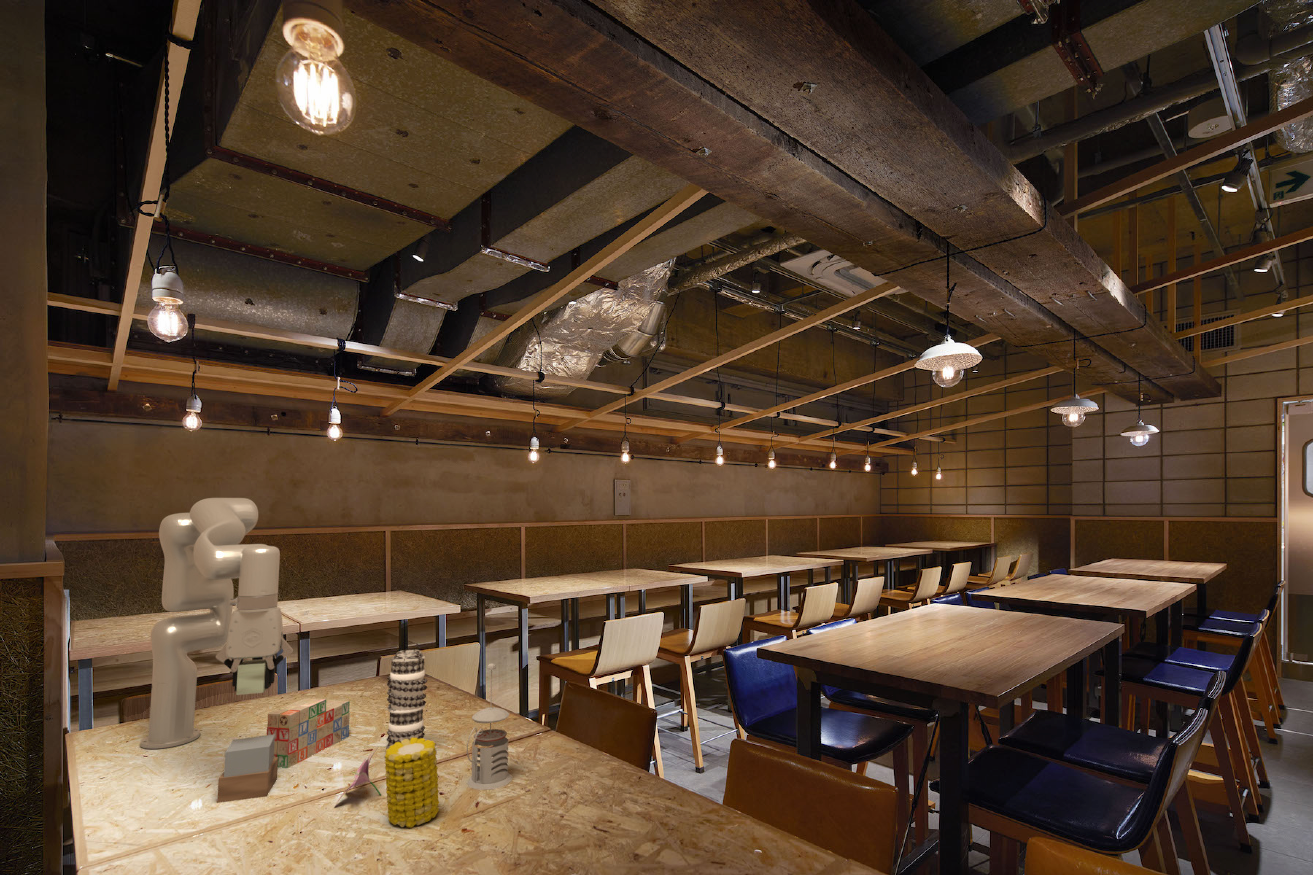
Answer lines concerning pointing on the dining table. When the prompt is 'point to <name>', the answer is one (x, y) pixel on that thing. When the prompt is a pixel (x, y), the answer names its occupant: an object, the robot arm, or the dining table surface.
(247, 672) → the sage block
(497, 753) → the french press
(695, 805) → the dining table surface
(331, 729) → the stack of blocks
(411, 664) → the decorative candle
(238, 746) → the tower top
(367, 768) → the lily
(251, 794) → the tower base
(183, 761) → the dining table surface
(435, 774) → the food
